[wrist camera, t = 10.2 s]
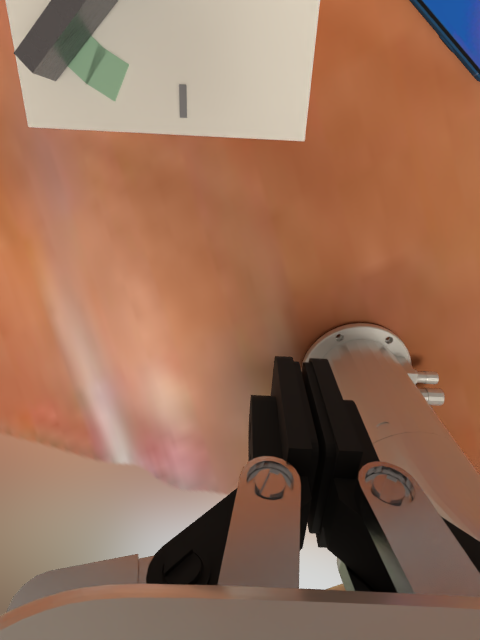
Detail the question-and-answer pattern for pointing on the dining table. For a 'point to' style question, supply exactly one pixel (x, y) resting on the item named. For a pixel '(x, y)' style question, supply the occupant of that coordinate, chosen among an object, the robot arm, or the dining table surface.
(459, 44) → the smartphone
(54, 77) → the grey lever handle
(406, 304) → the dining table surface
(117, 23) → the dial plate
